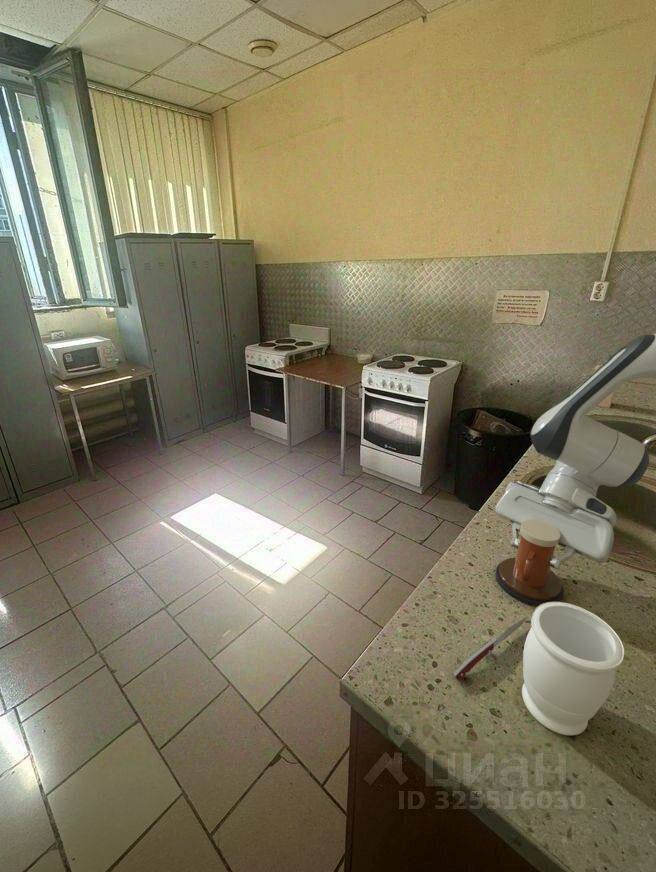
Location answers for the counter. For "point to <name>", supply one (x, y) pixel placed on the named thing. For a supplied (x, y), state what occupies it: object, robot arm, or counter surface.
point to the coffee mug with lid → (533, 562)
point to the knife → (484, 651)
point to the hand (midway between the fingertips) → (533, 556)
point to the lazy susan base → (523, 598)
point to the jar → (568, 666)
